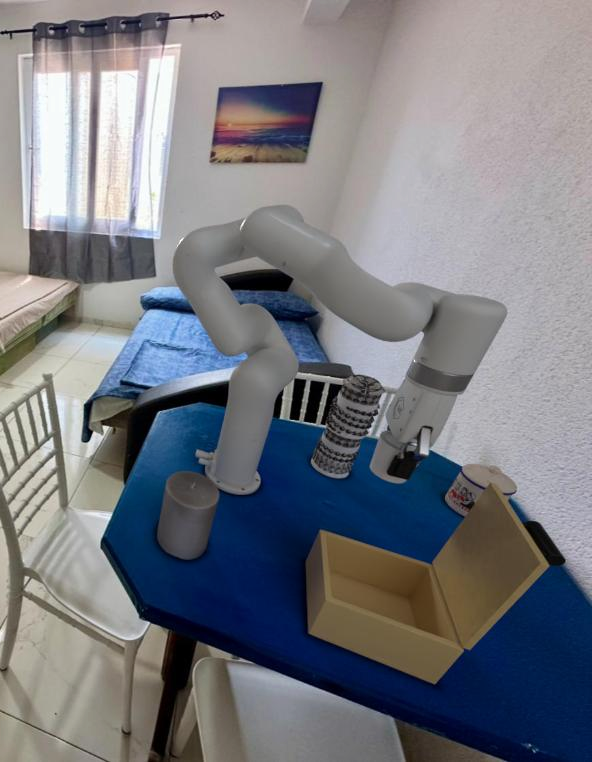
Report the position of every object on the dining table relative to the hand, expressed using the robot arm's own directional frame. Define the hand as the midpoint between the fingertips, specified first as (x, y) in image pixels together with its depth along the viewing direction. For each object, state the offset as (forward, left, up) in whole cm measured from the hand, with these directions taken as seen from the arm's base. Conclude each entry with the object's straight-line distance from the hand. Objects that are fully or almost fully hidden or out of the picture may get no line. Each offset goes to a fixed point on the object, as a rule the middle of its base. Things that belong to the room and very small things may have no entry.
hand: (392, 462), depth 72 cm
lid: (+8, -17, -2) cm, 19 cm away
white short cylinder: (0, 0, -2) cm, 2 cm away
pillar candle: (-31, -15, -20) cm, 40 cm away
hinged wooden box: (0, -17, -20) cm, 27 cm away
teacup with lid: (+26, +21, -20) cm, 39 cm away
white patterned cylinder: (-2, +24, -20) cm, 32 cm away
